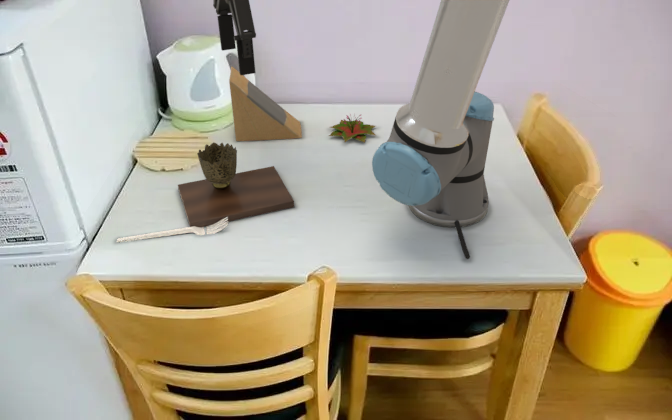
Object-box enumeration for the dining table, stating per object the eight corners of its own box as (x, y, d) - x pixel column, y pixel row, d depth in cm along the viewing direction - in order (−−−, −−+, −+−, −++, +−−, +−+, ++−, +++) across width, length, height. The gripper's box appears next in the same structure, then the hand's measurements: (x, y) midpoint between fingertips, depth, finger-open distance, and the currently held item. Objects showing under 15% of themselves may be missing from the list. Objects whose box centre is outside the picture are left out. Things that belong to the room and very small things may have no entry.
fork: (117, 238, 108) (115, 229, 107) (228, 223, 112) (227, 215, 111) (116, 248, 106) (114, 240, 105) (230, 233, 109) (228, 225, 108)
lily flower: (337, 118, 146) (337, 101, 144) (384, 126, 143) (385, 108, 140) (319, 140, 137) (319, 122, 135) (369, 149, 134) (369, 131, 131)
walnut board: (294, 207, 115) (294, 200, 115) (190, 229, 110) (189, 223, 109) (274, 171, 126) (273, 165, 125) (178, 190, 120) (177, 184, 119)
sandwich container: (302, 138, 138) (300, 77, 129) (235, 141, 137) (228, 80, 128) (300, 121, 145) (298, 62, 136) (237, 124, 144) (230, 65, 135)
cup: (224, 200, 115) (219, 164, 110) (195, 190, 118) (189, 154, 113) (248, 182, 120) (244, 147, 115) (219, 172, 123) (214, 138, 118)
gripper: (187, -73, 108) (203, 42, 120) (220, -45, 89) (235, 88, 101) (228, -76, 110) (239, 37, 122) (268, -49, 91) (277, 81, 104)
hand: (237, 60), depth 112 cm, fingers open, 13 cm apart
